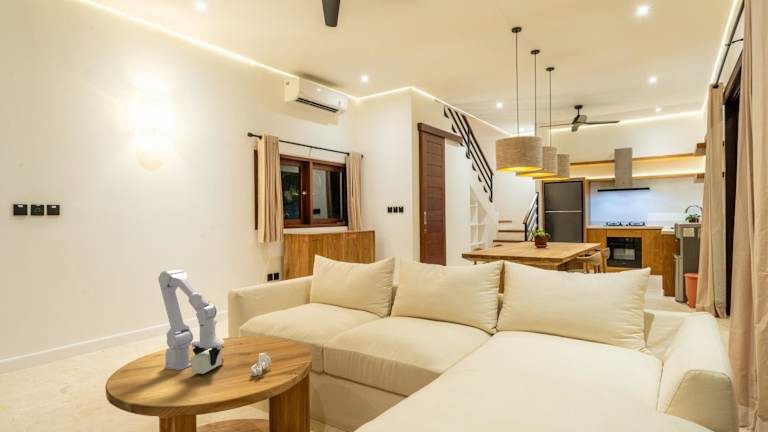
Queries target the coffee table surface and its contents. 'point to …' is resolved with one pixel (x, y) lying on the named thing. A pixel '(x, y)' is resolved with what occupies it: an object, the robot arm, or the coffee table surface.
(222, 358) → the ball
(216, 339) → the flower in vase
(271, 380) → the coffee table surface
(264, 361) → the white lumpy piece
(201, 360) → the pale green block
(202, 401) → the coffee table surface
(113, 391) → the coffee table surface
